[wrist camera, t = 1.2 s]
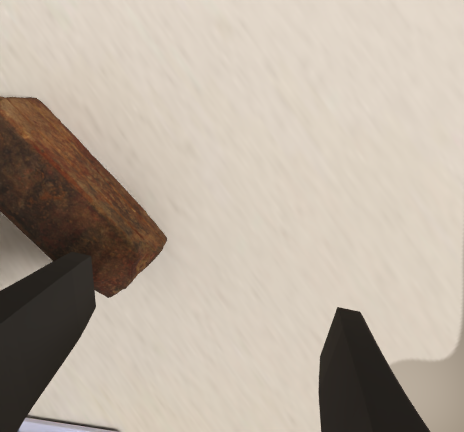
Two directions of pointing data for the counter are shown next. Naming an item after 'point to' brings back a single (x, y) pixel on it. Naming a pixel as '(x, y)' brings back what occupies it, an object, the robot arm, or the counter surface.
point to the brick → (70, 197)
